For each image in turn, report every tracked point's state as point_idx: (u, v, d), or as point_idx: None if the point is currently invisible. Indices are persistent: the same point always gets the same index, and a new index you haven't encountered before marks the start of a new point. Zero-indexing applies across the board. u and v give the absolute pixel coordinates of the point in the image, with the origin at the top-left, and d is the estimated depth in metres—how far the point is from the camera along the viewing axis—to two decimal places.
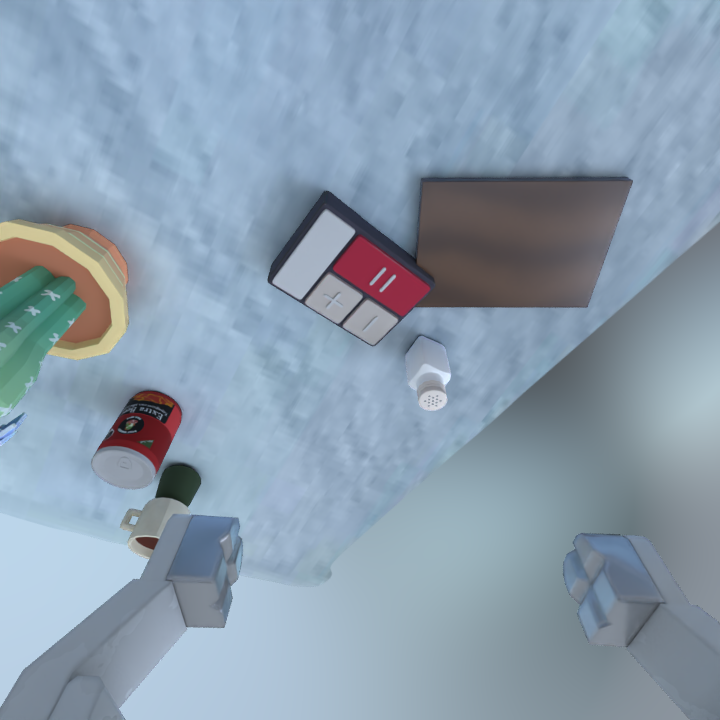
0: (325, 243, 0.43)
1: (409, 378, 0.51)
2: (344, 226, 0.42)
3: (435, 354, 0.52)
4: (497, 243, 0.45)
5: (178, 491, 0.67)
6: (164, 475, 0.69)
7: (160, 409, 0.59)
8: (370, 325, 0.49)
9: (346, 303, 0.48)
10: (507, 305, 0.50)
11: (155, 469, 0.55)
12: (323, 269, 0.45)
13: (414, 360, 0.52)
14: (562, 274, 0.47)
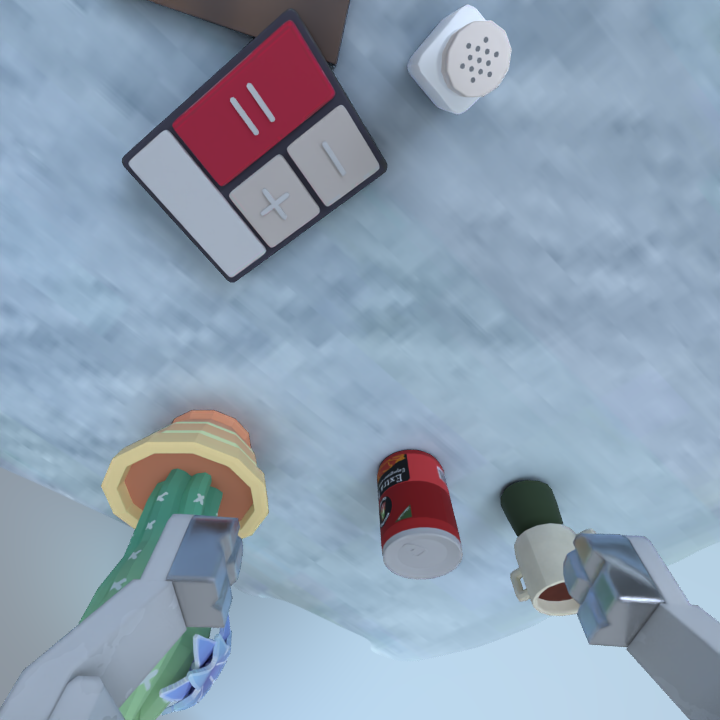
0: (179, 182, 0.30)
1: (447, 108, 0.26)
2: (155, 144, 0.29)
3: (430, 37, 0.26)
4: None
5: (527, 516, 0.48)
6: (505, 512, 0.52)
7: (394, 472, 0.47)
8: (335, 159, 0.29)
9: (284, 185, 0.30)
10: None
11: (441, 529, 0.40)
12: (221, 200, 0.31)
13: (427, 88, 0.27)
14: None
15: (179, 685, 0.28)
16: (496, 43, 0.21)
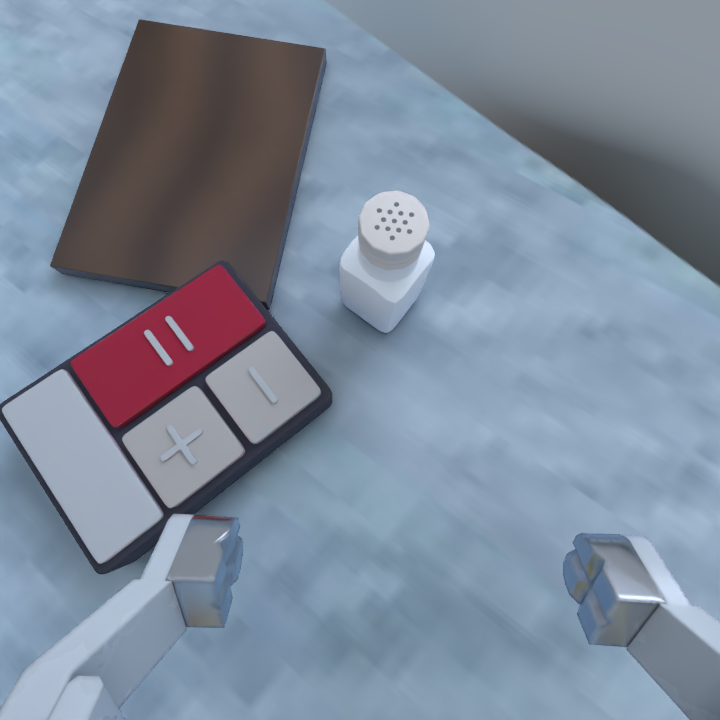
0: (60, 426, 0.23)
1: (382, 300, 0.23)
2: (44, 384, 0.23)
3: None
4: (180, 168, 0.29)
5: None
6: None
7: None
8: (264, 384, 0.24)
9: (198, 420, 0.23)
10: (296, 154, 0.30)
11: None
12: (111, 446, 0.23)
13: (360, 298, 0.25)
14: (257, 83, 0.31)
15: None
16: (408, 206, 0.20)
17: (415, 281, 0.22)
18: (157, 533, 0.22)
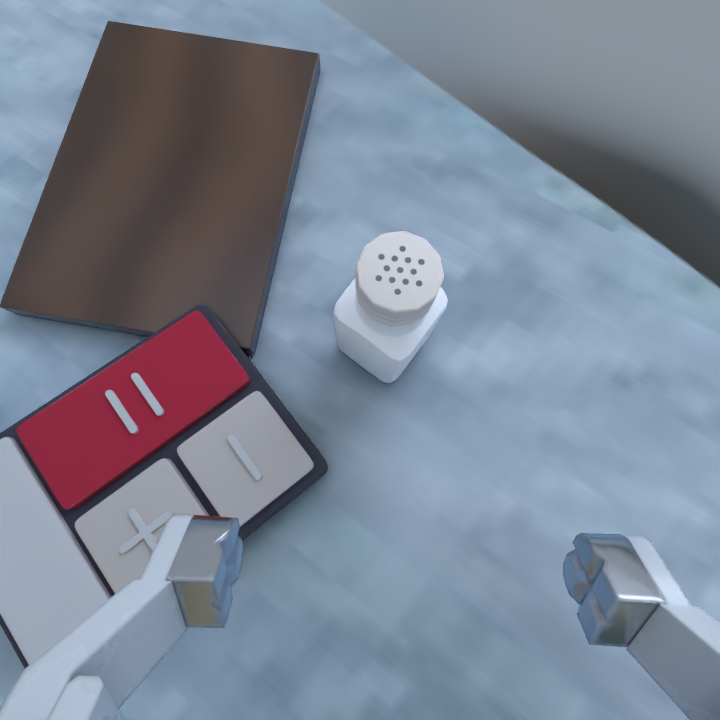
0: (1, 508, 0.19)
1: (384, 357, 0.19)
2: None
3: None
4: (151, 192, 0.25)
5: None
6: None
7: None
8: (246, 457, 0.20)
9: (166, 501, 0.20)
10: (286, 175, 0.26)
11: None
12: (61, 533, 0.19)
13: (358, 349, 0.21)
14: (241, 93, 0.27)
15: None
16: (417, 250, 0.16)
17: (424, 334, 0.19)
18: None
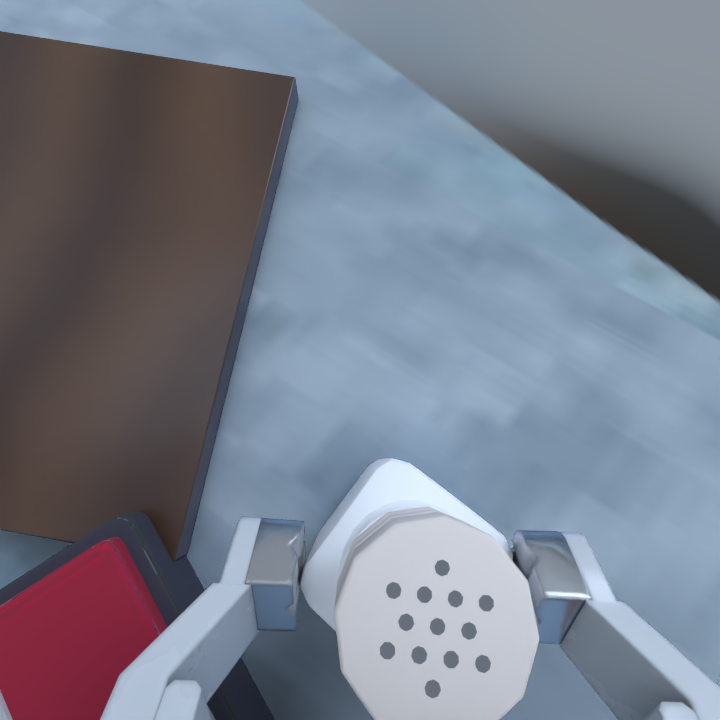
0: None
1: None
2: None
3: (340, 508, 0.13)
4: (33, 293, 0.17)
5: None
6: None
7: None
8: None
9: None
10: (241, 266, 0.17)
11: None
12: None
13: None
14: (178, 138, 0.18)
15: None
16: (477, 573, 0.07)
17: None
18: None
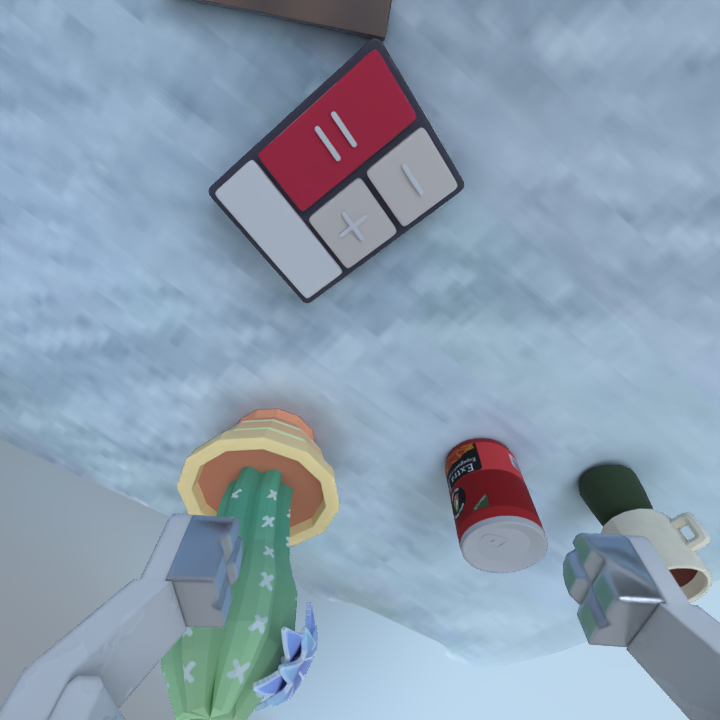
0: (262, 209, 0.31)
1: None
2: (241, 174, 0.30)
3: None
4: None
5: (612, 503, 0.45)
6: (585, 501, 0.49)
7: (464, 462, 0.45)
8: (414, 180, 0.30)
9: (363, 207, 0.31)
10: None
11: (522, 517, 0.38)
12: (301, 224, 0.32)
13: None
14: None
15: (271, 679, 0.28)
16: None
17: None
18: (338, 281, 0.34)
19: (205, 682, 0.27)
